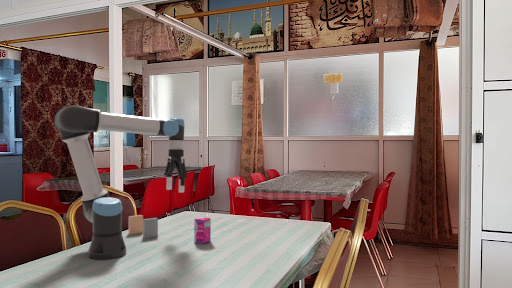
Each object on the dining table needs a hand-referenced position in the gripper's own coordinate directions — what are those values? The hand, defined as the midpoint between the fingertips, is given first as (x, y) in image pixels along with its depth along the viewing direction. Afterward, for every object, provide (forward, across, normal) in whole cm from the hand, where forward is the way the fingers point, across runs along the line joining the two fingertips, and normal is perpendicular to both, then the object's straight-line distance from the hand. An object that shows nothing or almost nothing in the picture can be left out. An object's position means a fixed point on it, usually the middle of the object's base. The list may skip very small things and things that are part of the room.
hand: (175, 191), depth 199 cm
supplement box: (+23, -18, -6) cm, 30 cm away
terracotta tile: (+23, +19, +12) cm, 33 cm away
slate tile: (+23, +7, +9) cm, 26 cm away
